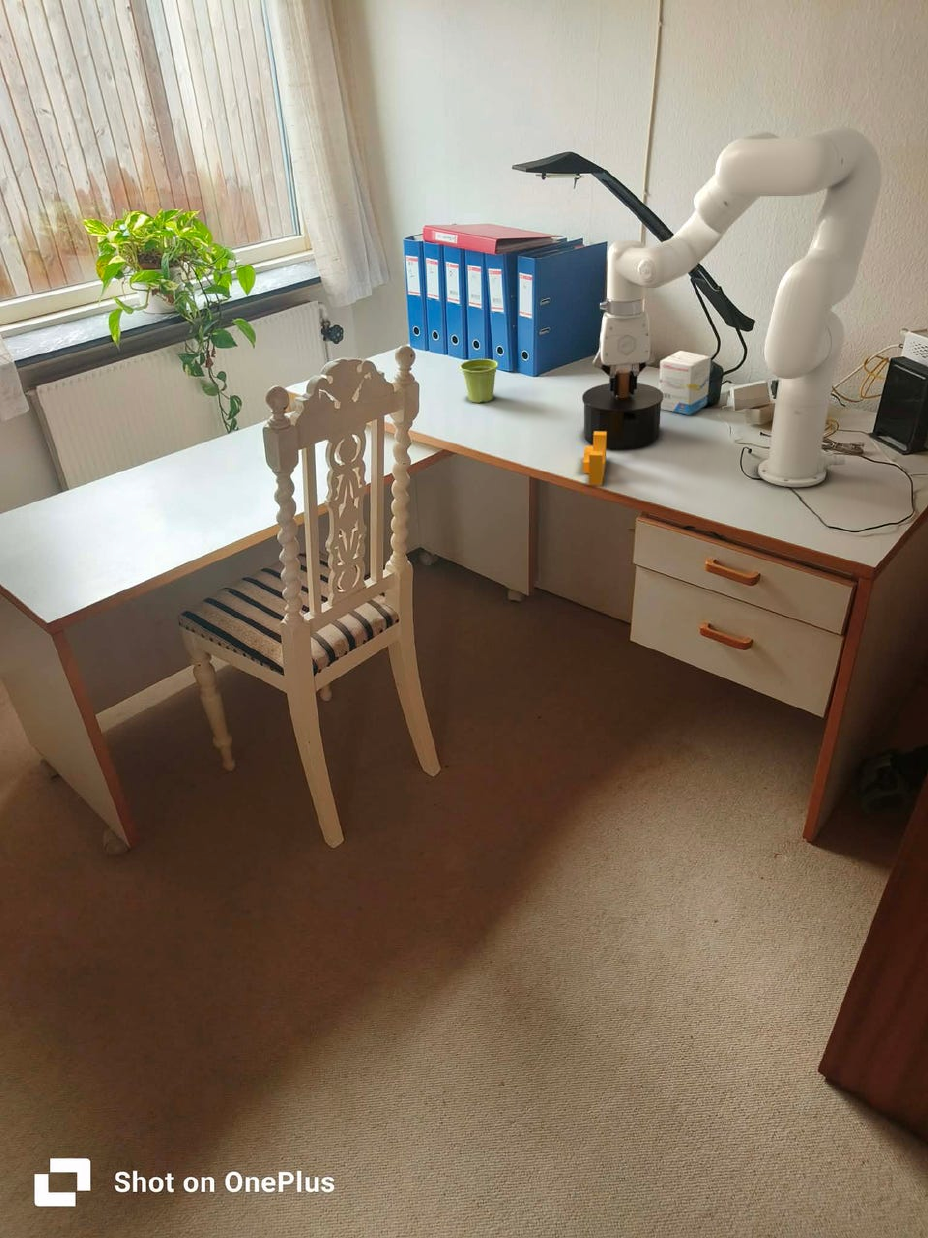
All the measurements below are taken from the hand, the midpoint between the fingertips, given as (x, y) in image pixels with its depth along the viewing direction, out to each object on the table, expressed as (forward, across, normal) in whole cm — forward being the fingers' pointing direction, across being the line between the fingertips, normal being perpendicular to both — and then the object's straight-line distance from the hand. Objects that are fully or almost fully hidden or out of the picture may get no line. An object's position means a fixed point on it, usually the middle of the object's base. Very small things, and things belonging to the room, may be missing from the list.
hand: (622, 392), depth 189 cm
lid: (+1, 0, 0) cm, 1 cm away
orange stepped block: (+10, -9, -18) cm, 22 cm away
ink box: (+10, +17, +14) cm, 24 cm away
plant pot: (+10, -30, +30) cm, 44 cm away
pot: (+10, 0, 0) cm, 10 cm away
